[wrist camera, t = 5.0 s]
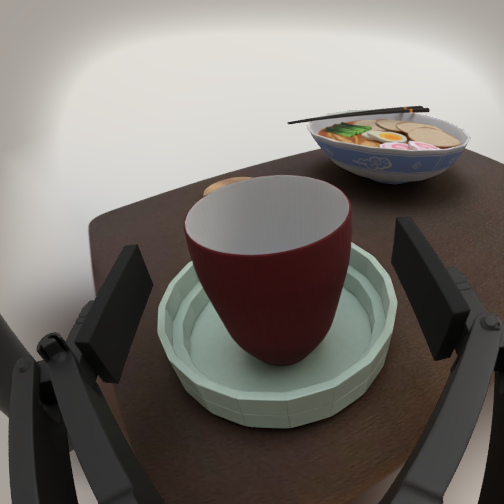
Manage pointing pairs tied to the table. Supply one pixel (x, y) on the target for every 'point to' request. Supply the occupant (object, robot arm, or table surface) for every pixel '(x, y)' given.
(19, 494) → the robot arm
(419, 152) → the ramen bowl
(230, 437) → the table surface
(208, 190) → the coaster
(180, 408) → the table surface
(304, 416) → the serving bowl
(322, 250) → the mug
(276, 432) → the table surface
